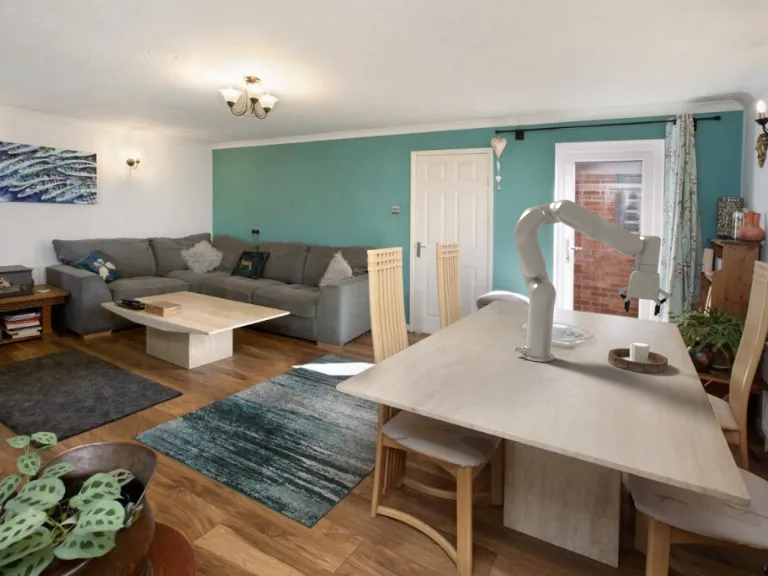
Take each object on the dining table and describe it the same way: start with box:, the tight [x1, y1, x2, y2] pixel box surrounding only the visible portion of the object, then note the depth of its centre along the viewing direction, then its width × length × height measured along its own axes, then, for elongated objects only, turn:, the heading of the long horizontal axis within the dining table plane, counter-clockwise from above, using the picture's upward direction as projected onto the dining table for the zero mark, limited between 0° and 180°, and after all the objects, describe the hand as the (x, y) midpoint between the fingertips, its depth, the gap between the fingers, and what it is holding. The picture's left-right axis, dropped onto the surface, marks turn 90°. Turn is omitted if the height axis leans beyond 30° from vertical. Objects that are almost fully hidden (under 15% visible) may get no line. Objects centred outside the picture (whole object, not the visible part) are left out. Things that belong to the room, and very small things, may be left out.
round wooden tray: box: [607, 347, 669, 374], centre depth 177 cm, size 20×20×4 cm
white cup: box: [629, 341, 651, 363], centre depth 176 cm, size 7×7×7 cm
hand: (641, 313), depth 174 cm, fingers open, 9 cm apart
